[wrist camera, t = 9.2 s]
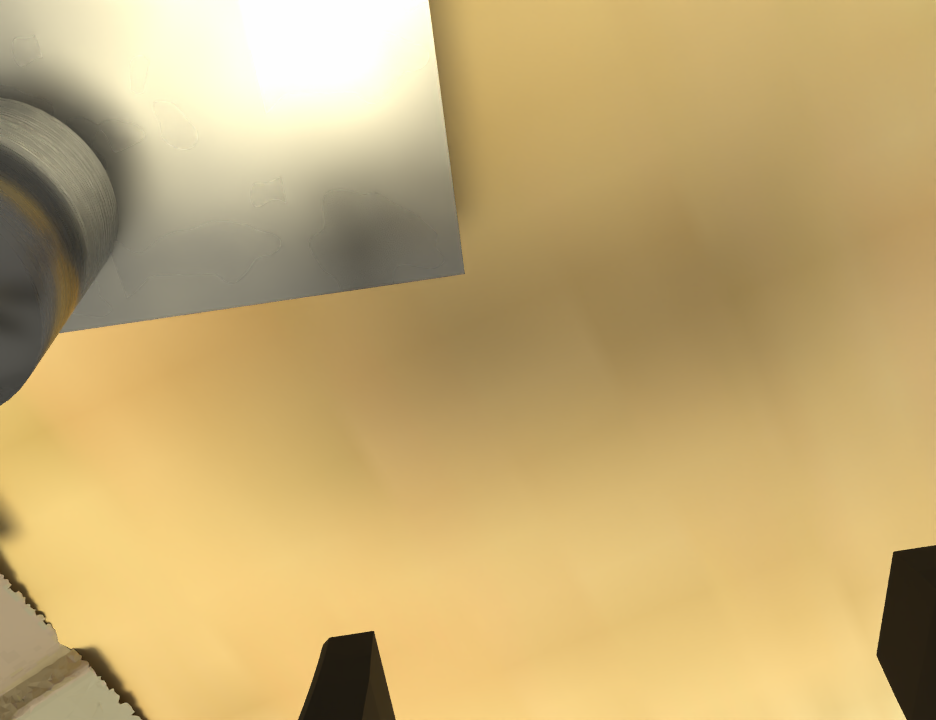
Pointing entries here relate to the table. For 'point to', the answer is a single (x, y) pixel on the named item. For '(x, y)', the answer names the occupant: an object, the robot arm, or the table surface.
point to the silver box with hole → (212, 159)
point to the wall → (47, 671)
